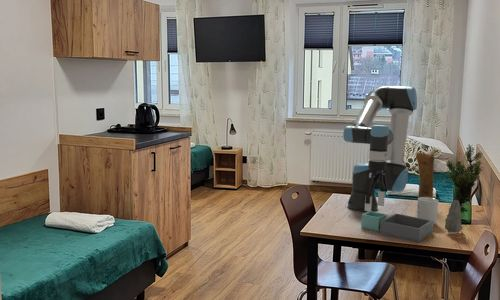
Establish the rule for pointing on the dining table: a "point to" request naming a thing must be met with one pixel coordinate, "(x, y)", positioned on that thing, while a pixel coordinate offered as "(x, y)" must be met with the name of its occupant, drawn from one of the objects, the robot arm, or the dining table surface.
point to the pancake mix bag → (425, 174)
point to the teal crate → (372, 220)
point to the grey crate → (406, 227)
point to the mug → (427, 208)
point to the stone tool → (454, 218)
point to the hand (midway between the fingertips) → (374, 208)
